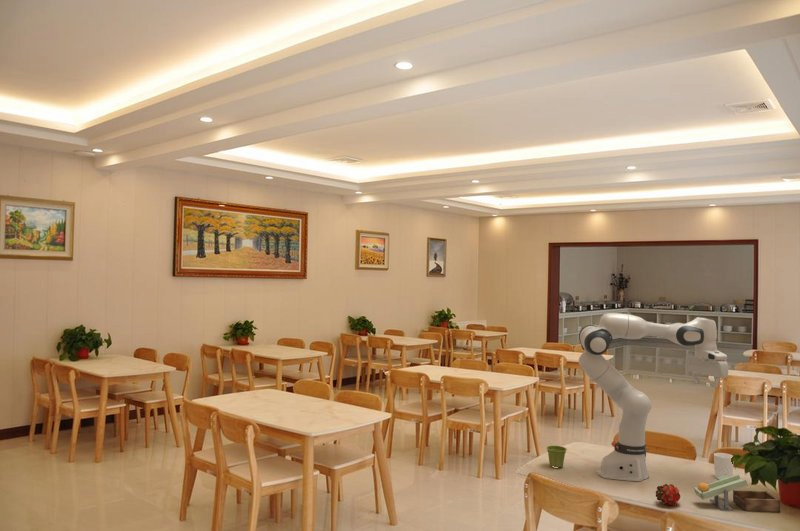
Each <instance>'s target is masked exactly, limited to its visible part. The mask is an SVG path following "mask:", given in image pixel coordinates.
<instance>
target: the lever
mask: <svg viewBox="0 0 800 531" xmlns="http://www.w3.org/2000/svg"><path fill="white" fill-rule="evenodd" d="M715 478H716V480H717V481H716V480H715V481H713V482H710V483H706V484H707V485H708V486H709V491H706V492H703V493H702V492H701V491H700V490H699V489H698V486H697V487H696V486H694V487H693V490H694V493H695V495H696V496H697V497H699V498H700V499H701V500H702V501H704V500H707V499H712V498H714V496H717V495H718V496H721V495H724V490H727V491H728V493H730V492H733V490H738V489H739V490H740V489H741V488H744V487H747V486H749V485H748V481H747V479H746V478H745V479H742V478H740V475H739V474H735V475H734V474H733V476H731V477H728V476H726V475H722V476H719V477H715Z"/></svg>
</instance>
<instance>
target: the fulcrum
mask: <svg viewBox="0 0 800 531" xmlns="http://www.w3.org/2000/svg"><path fill="white" fill-rule="evenodd" d="M709 501H710V502H711V503H712V504H713V505H715V507H716V508H718V509H719V510H720V511H728V512H729V511H731V512H732V511H734V509H733V508H732V507H731V506H730V505H729V492H728V491H727V490H724V493H723V500H722V499H720V498H719V495H717V496H714V497H713V498H709Z"/></svg>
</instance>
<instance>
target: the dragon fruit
mask: <svg viewBox="0 0 800 531" xmlns="http://www.w3.org/2000/svg"><path fill="white" fill-rule="evenodd" d="M656 487H657V488H656V491H655V497H656V500H657V501H659V502H660V501H661V504H662V505H664V506H666V507H667V506H668V505H670V506H676V505H677V503H678V502H679V500H680V499H681V494H680V490H679V488H678V487H677V486H675V485H674V484H673V483H670V484H667V483H664V484H663V485H658V486H656Z"/></svg>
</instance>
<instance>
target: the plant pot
mask: <svg viewBox="0 0 800 531" xmlns="http://www.w3.org/2000/svg"><path fill="white" fill-rule="evenodd" d="M546 450H547V454H548V463H549V466H550V465H551V466H554V467H564V463H565V456H566V453H567V450H568V448H566V447H564V446H561V445H548V446H546ZM551 466H550V467H551Z"/></svg>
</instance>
